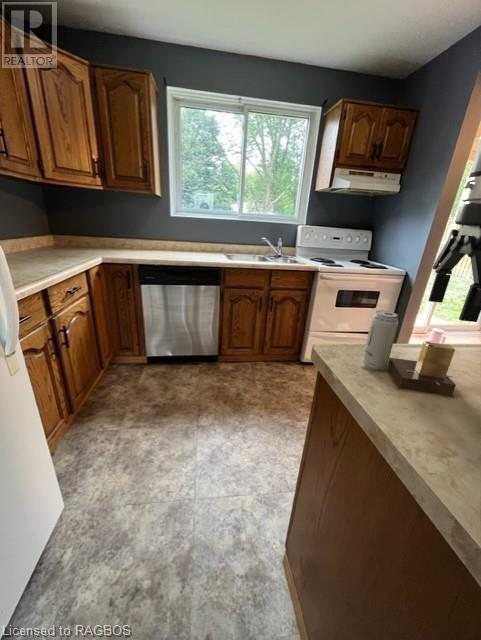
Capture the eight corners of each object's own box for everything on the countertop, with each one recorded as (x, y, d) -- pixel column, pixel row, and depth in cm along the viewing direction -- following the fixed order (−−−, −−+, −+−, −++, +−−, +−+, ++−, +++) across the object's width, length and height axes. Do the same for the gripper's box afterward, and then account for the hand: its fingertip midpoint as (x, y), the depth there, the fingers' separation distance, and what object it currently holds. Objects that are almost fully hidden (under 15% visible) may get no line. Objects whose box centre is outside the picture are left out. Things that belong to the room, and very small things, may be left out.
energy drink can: (359, 359, 76) (370, 308, 70) (382, 362, 75) (395, 311, 69) (364, 370, 70) (376, 316, 65) (389, 373, 69) (404, 318, 64)
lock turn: (439, 373, 65) (450, 343, 62) (445, 378, 62) (455, 348, 60) (414, 369, 66) (423, 340, 63) (418, 375, 63) (428, 345, 61)
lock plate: (435, 374, 70) (439, 363, 69) (459, 400, 60) (464, 388, 59) (386, 367, 72) (389, 356, 71) (401, 392, 62) (404, 380, 61)
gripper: (433, 206, 63) (409, 294, 71) (509, 197, 40) (462, 329, 48) (469, 207, 62) (441, 297, 69) (569, 198, 39) (511, 334, 46)
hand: (449, 310), depth 58 cm, fingers open, 13 cm apart
